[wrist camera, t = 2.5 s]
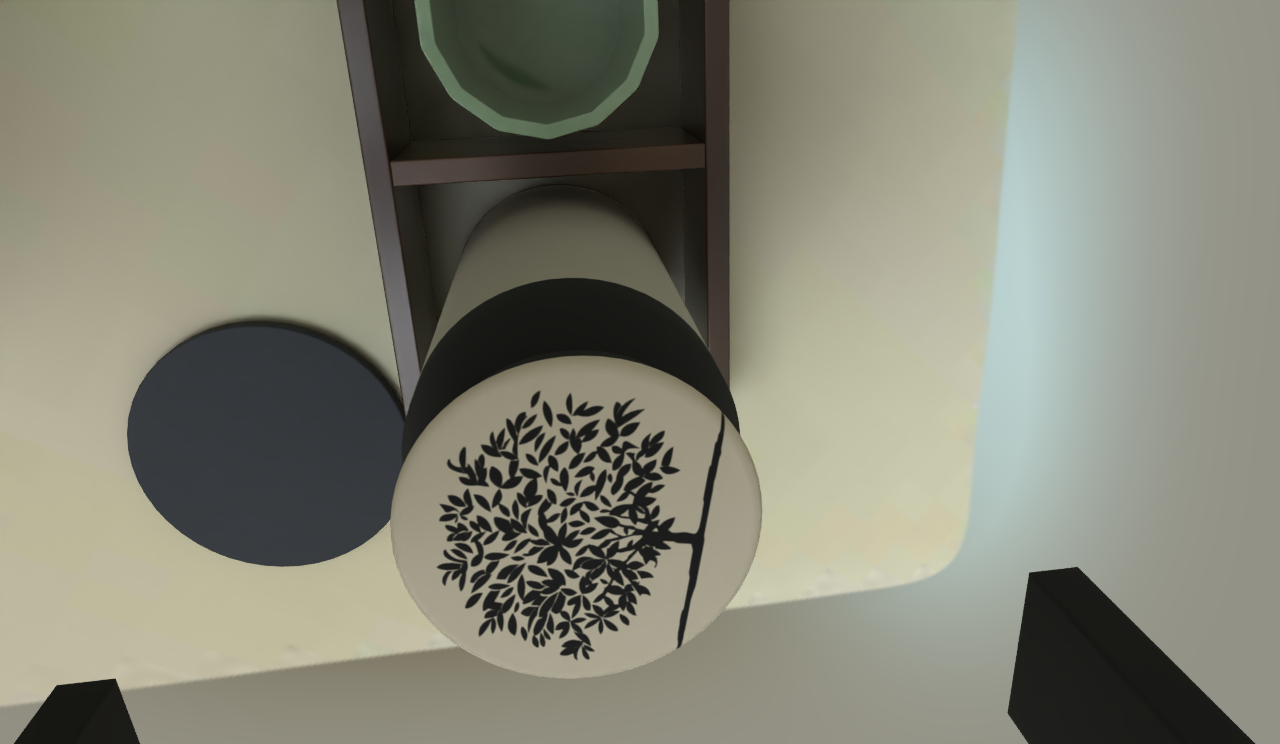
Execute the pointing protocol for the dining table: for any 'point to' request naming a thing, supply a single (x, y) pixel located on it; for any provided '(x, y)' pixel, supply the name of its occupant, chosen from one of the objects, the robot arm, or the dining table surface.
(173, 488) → the slate coaster
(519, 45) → the sage cup
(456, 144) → the cup holder
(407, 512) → the travel mug
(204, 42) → the dining table surface
